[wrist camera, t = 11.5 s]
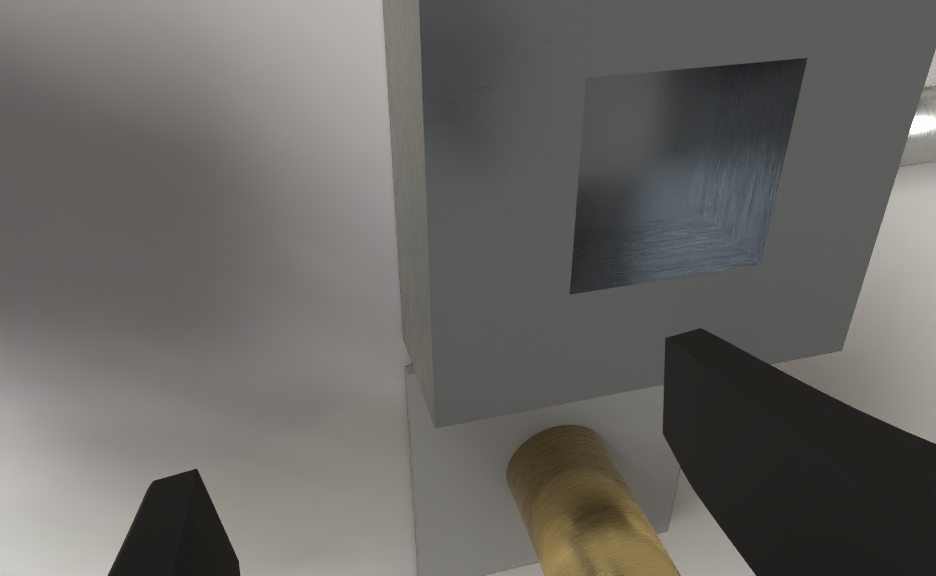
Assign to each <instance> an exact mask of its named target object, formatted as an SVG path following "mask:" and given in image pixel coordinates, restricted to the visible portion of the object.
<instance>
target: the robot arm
mask: <svg viewBox="0 0 936 576" xmlns="http://www.w3.org/2000/svg"><path fill="white" fill-rule="evenodd" d="M663 435H664V437H665V439H666V441H667V443H668V445H669V446H670V448H671V450H672V452H673V454H674V456H675V458H676V460H677V461H678V463H679V465H680V467H681V469H682V470H683V472H684V474H685V476H686V477H687V479H688V481H689V483H690V484H691V486H692V488H693V489H694V491H695V492H696V494H697V495H698V496H699V498H700V499H701V501H702V502H703V504H704V505H705V506H706V508H707V509H708V510H709V512H710V513H711V515H712V516H713V517H714V519H715V520H716V522H717V523H718V524H719V526H720V527H721V528H722V530H723V531H724V533H725V534H726V535H727V537H728V538H729V539H730V541H731V542H732V543H733V545H734V546H735V548H736V549H737V550H738V552H739V553H740V554H741V556H742V557H743V558H744V560H745V561H746V562H747V564H748V565H749V567H750V568H751V569H752V571H753V572H754V573H755V575H756V576H936V444H934V443H932V442H929V441H927V440H925V439H922V438H920V437H917V436H915V435H913V434H910V433H908V432H906V431H903V430H901V429H899V428H897V427H894V426H892V425H890V424H888V423H886V422H883V421H881V420H879V419H877V418H875V417H872V416H870V415H868V414H866V413H864V412H861V411H859V410H857V409H855V408H853V407H851V406H849V405H847V404H845V403H843V402H841V401H839V400H837V399H835V398H833V397H831V396H829V395H827V394H825V393H823V392H821V391H819V390H817V389H815V388H813V387H811V386H809V385H807V384H805V383H803V382H801V381H799V380H798V379H796V378H794V377H792V376H790V375H788V374H786V373H784V372H782V371H781V370H779V369H777V368H775V367H773V366H771V365H769V364H768V363H766V362H764V361H762V360H760V359H758V358H757V357H755V356H753V355H751V354H749V353H747V352H746V351H744V350H742V349H740V348H738V347H736V346H734V345H733V344H731V343H729V342H727V341H725V340H723V339H721V338H720V337H718V336H716V335H714V334H712V333H710V332H708V331H706V330H704V329H702V328H699V329H696V330H692V331H688V332H685V333H681V334H678V335H674V336H670V337H667V338H665V364H664V400H663ZM108 576H240V569H239V561H238V559H237V556H236V554H235V552H234V550H233V547H232V545H231V543H230V541H229V539H228V536H227V534H226V532H225V530H224V527H223V525H222V523H221V521H220V519H219V516H218V514H217V512H216V510H215V507H214V505H213V503H212V501H211V499H210V496H209V494H208V492H207V490H206V487H205V485H204V483H203V481H202V479H201V476H200V474H199V472H198V470H197V469H194V470H191V471H187V472H184V473H180V474H176V475H173V476H169V477H166V478H162V479H159V480H155V481H153V482H152V483H151V485H150V486H149V488H148V489H147V492H146V494H145V496H144V498H143V501H142V503H141V505H140V507H139V510H138V512H137V514H136V516H135V518H134V521H133V523H132V525H131V527H130V530H129V532H128V534H127V536H126V538H125V540H124V543H123V545H122V547H121V549H120V551H119V553H118V555H117V557H116V559H115V562H114V564H113V566H112V568H111V570H110V572H109V574H108Z"/></svg>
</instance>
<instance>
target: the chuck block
mask: <svg viewBox="0 0 936 576" xmlns="http://www.w3.org/2000/svg"><path fill="white" fill-rule="evenodd" d="M383 16H384V32H385V49H386V65H387V81H388V97H389V114H390V130H391V146H392V163H393V179H394V195H395V211H396V228H397V244H398V260H399V276H400V293H401V309H402V325H403V340H404V343H405V346H406V348H407V351H408V354H409V357H410V360H411V363H412V365H413V368H414V371H415V374H416V377H417V379H418V382H419V385H420V388H421V391H422V394H423V396H424V399H425V402H426V405H427V408H428V411H429V413H430V416H431V419H432V422H433V425H434V428H435V429H436V428H441V427H446V426H452V425H457V424H462V423H467V422H473V421H478V420H483V419H488V418H493V417H499V416H504V415H509V414H514V413H519V412H525V411H530V410H535V409H540V408H545V407H551V406H556V405H561V404H566V403H571V402H577V401H582V400H587V399H592V398H597V397H603V396H608V395H613V394H618V393H623V392H629V391H634V390H639V389H644V388H649V387H655V386H660V385H664V364H665V338H667V337H670V336H674V335H678V334H681V333H685V332H688V331H692V330H696V329H699V328H702V329H704V330H706V331H708V332H710V333H712V334H714V335H716V336H718V337H720V338H721V339H723V340H725V341H727V342H729V343H731V344H733V345H734V346H736V347H738V348H740V349H742V350H744V351H746V352H747V353H749V354H751V355H753V356H755V357H757V358H758V359H760V360H762V361H764V362H766V363H768V364H774V363H780V362H785V361H790V360H795V359H800V358H806V357H811V356H816V355H821V354H826V353H832V352H837V351H842V348H843V345H844V341H845V338H846V335H847V332H848V329H849V325H850V322H851V319H852V316H853V312H854V309H855V306H856V303H857V300H858V296H859V293H860V290H861V287H862V284H863V280H864V277H865V274H866V271H867V268H868V264H869V261H870V258H871V255H872V251H873V248H874V245H875V242H876V239H877V235H878V232H879V229H880V226H881V223H882V219H883V216H884V213H885V210H886V206H887V203H888V200H889V197H890V194H891V190H892V187H893V184H894V181H895V178H896V174H897V171H898V168H899V166H907V165H914V164H922V163H930V162H936V86H931V87H924V84H925V81H926V78H927V75H928V72H929V68H930V65H931V62H932V59H933V56H934V52H935V49H936V0H383Z"/></svg>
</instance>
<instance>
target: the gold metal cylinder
mask: <svg viewBox="0 0 936 576" xmlns="http://www.w3.org/2000/svg"><path fill="white" fill-rule="evenodd" d="M506 480H507V484H508V487H509V489H510V492H511V494H512V496H513V499H514V501H515V504H516V506H517V509H518V511H519V514H520V516H521V519H522V521H523V524H524V526H525V528H526V531H527V533H528V536H529V538H530V541H531V543H532V546H533V548H534V551H535V553H536V556H537V558H538V561H539V563H540V565H541V568H542V570H543V573H544V575H545V576H681V575H680V574H679V572H678V570H677V568H676V567H675V565H674V563H673V562H672V560H671V558H670V556H669V555H668V553H667V551H666V550H665V548H664V546H663V544H662V543H661V541H660V539H659V538H658V536H657V534H656V532H655V531H654V529H653V527H652V526H651V524H650V522H649V520H648V519H647V517H646V515H645V514H644V512H643V510H642V508H641V507H640V505H639V503H638V502H637V500H636V498H635V496H634V495H633V493H632V491H631V490H630V488H629V486H628V484H627V483H626V481H625V479H624V478H623V476H622V474H621V472H620V471H619V469H618V467H617V466H616V464H615V462H614V460H613V459H612V457H611V455H610V454H609V452H608V450H607V448H606V447H605V445H604V443H603V442H602V440H601V438H600V437H599V436H598V435H597V434H596V433H595V432H594V431H592V430H591V429H588V428H586V427H583V426H578V425H562V426H557V427H553V428H549V429H547V430H544V431H542V432H540V433H538V434H536V435H534V436H533V437H531V438H530V439H528V440H527V441H526V442H524V443H523V444H522V445H521V446H520V447H519V448H518V449H517V451H516V452H515V453H514V455H513V456H512V458H511V460H510V461H509V464H508V467H507V471H506Z"/></svg>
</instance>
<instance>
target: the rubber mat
mask: <svg viewBox="0 0 936 576" xmlns="http://www.w3.org/2000/svg"><path fill="white" fill-rule="evenodd" d="M405 374H406V390H407V407H408V423H409V439H410V456H411V472H412V488H413V504H414V521H415V537H416V553H417V570H418V576H483V575H487V574H491V573H496V572H500V571H504V570H508V569H512V568H516V567H521V566H525V565H529V564H533V563H537V562H539V561H538V558H537V556H536V553H535V551H534V548H533V546H532V543H531V541H530V538H529V536H528V533H527V531H526V528H525V526H524V524H523V521H522V519H521V516H520V514H519V511H518V509H517V506H516V504H515V501H514V499H513V496H512V494H511V492H510V489H509V487H508V484H507V480H506V471H507V467H508V464H509V461H510V460H511V458H512V456H513V455H514V453H515V452H516V451H517V449H518V448H519V447H520V446H521V445H522V444H523V443H524V442H526V441H527V440H528V439H530V438H531V437H533V436H534V435H536V434H538V433H540V432H542V431H544V430H547V429H549V428H553V427H557V426H562V425H578V426H583V427H586V428H588V429H591V430H592V431H594V432H595V433H596V434H597V435H598V436H599V437H600V438H601V440H602V442H603V443H604V445H605V447H606V448H607V450H608V452H609V454H610V455H611V457H612V459H613V460H614V462H615V464H616V466H617V467H618V469H619V471H620V472H621V474H622V476H623V478H624V479H625V481H626V483H627V484H628V486H629V488H630V490H631V491H632V493H633V495H634V496H635V498H636V500H637V502H638V503H639V505H640V507H641V508H642V510H643V512H644V514H645V515H646V517H647V519H648V520H649V522H650V524H651V526H652V527H653V529H654V531H655V532H656V534H658V533H662V532H667V531H668V527H669V522H670V517H671V512H672V507H673V501H674V496H675V491H676V486H677V481H678V476H679V470H680V465H679V463H678V461H677V460H676V458H675V456H674V454H673V452H672V450H671V448H670V446H669V445H668V443H667V441H666V439H665V437H664V435H663V400H664V385H660V386H655V387H649V388H644V389H639V390H634V391H629V392H623V393H618V394H613V395H608V396H603V397H597V398H592V399H587V400H582V401H577V402H571V403H566V404H561V405H556V406H551V407H545V408H540V409H535V410H530V411H525V412H519V413H514V414H509V415H504V416H499V417H493V418H488V419H483V420H478V421H473V422H467V423H462V424H457V425H452V426H446V427H441V428H436V429H435V428H434V425H433V422H432V419H431V416H430V413H429V411H428V408H427V405H426V402H425V399H424V396H423V394H422V391H421V388H420V385H419V382H418V379H417V377H416V374H415V371H414V368H413V365H411V366H406V367H405Z"/></svg>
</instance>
